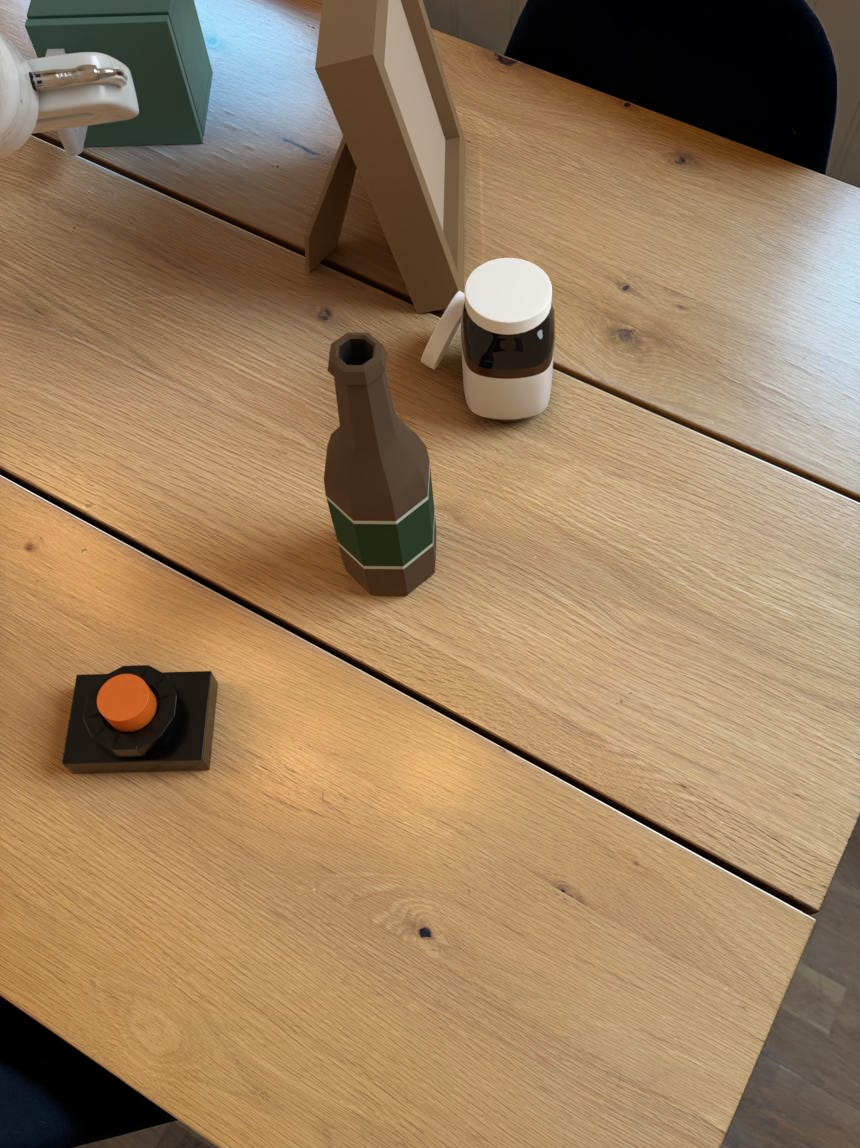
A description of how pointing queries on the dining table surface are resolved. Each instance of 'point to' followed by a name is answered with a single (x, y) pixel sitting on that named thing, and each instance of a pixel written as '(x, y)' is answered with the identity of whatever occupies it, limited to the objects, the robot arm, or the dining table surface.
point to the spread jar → (501, 339)
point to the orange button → (127, 702)
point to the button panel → (160, 745)
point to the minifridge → (175, 3)
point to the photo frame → (393, 143)
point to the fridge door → (151, 67)
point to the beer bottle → (377, 476)
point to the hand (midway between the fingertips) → (23, 122)
